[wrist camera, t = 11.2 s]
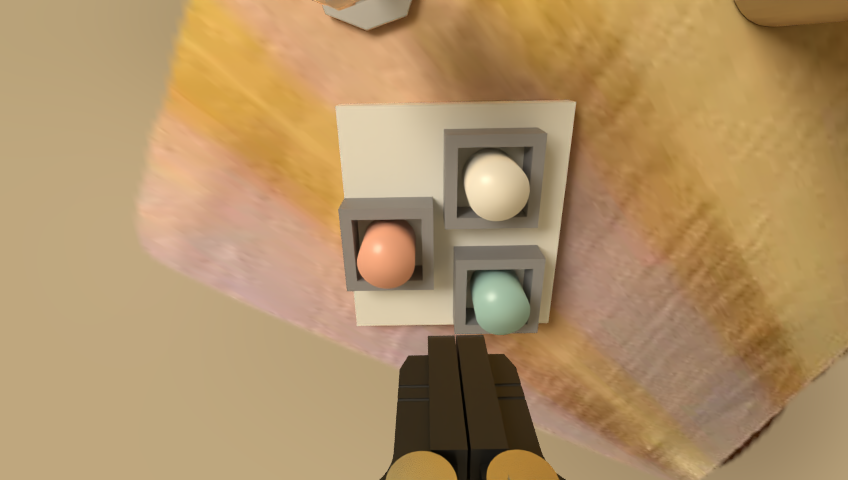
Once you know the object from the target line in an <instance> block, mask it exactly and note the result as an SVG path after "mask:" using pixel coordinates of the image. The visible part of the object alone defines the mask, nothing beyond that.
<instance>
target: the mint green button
mask: <svg viewBox="0 0 848 480" xmlns="http://www.w3.org/2000/svg"><path fill="white" fill-rule="evenodd" d="M470 291H471V296H472V301H473V305H474V310H475V315H476V319H477V322H478V324H479V325H480V326H481V327H482V328H483V329H484V330H485V331H487V332H489V333H492V334H496V335H505V334H510V333H513V332H515V331H517V330H519V329H520V328H521V327H523V326H524V324H525V323H526V322H527V320H528V318H529V316H530V305H529V302H528V300H527V297H526V295H525V293H524V290H523V288H522V286H521V283H520V281H519V279H518V276H517V274H516V272H515V271H514V270H513V269H505V270H476V271H475V272H474V273H473V275H472V277H471V279H470Z"/></svg>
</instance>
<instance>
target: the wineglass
mask: <svg viewBox="0 0 848 480" xmlns="http://www.w3.org/2000/svg"><path fill="white" fill-rule="evenodd" d="M312 1H315V2H317V3H320V4H322V6H323V9H324V12H325V14H326V15H328V16H331V17H333V18H336V19H338V20H341V21H343V22H346V23H348V24H351V25H353V26H356V27H358V28H361V29H363V30H366V31H368V30H371V29H374V28H376V27H379V26H382V25H384V24H387V23H390V22H393V21H395V20H398V19H401V18H404V17H406V16H407V15H408V12H409V9H410V6H411V2H412V0H312Z"/></svg>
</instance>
